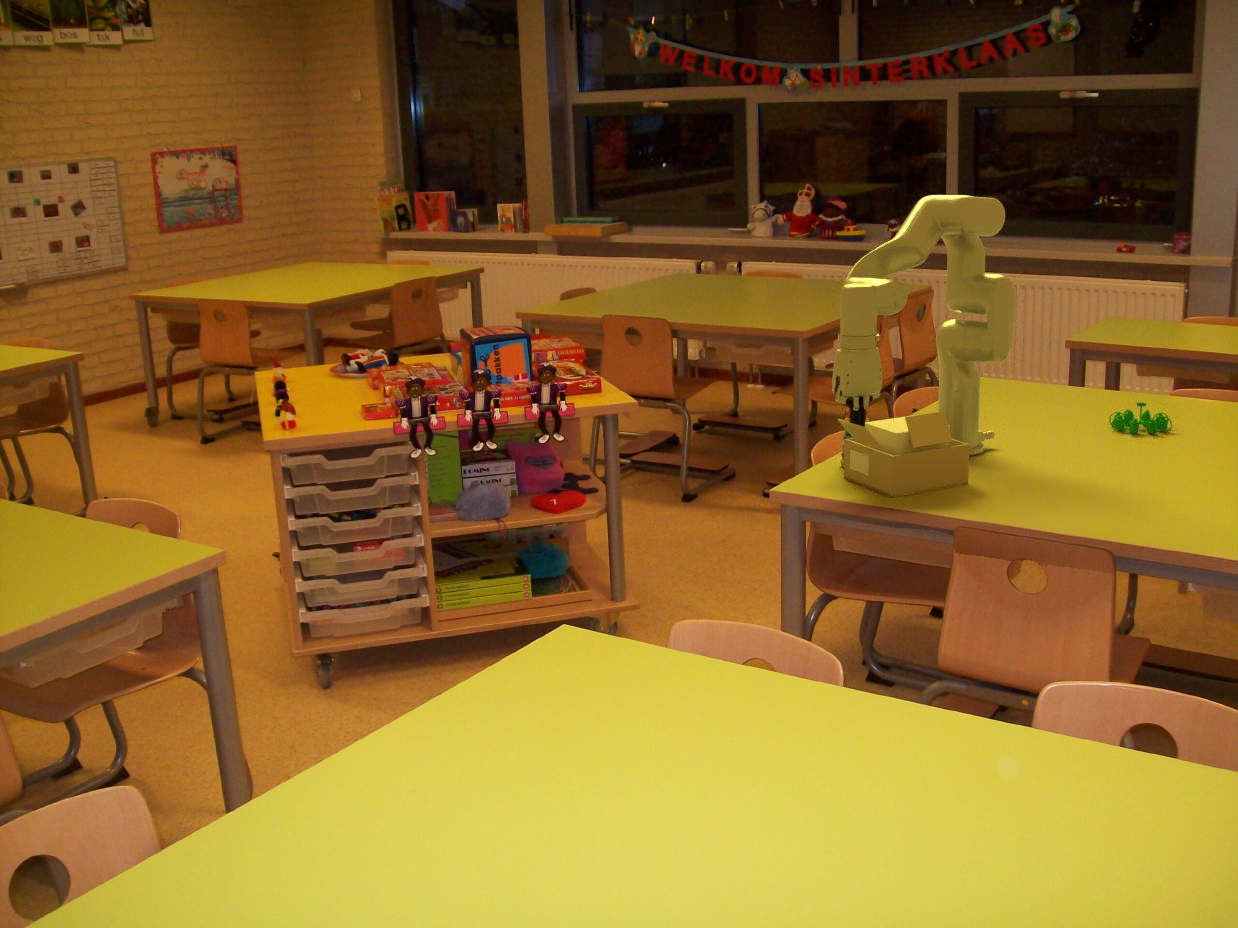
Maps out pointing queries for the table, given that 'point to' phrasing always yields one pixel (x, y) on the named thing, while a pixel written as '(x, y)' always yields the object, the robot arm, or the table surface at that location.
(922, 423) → the flap left
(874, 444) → the flap far
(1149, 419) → the chandelier
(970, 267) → the robot arm
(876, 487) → the carton
